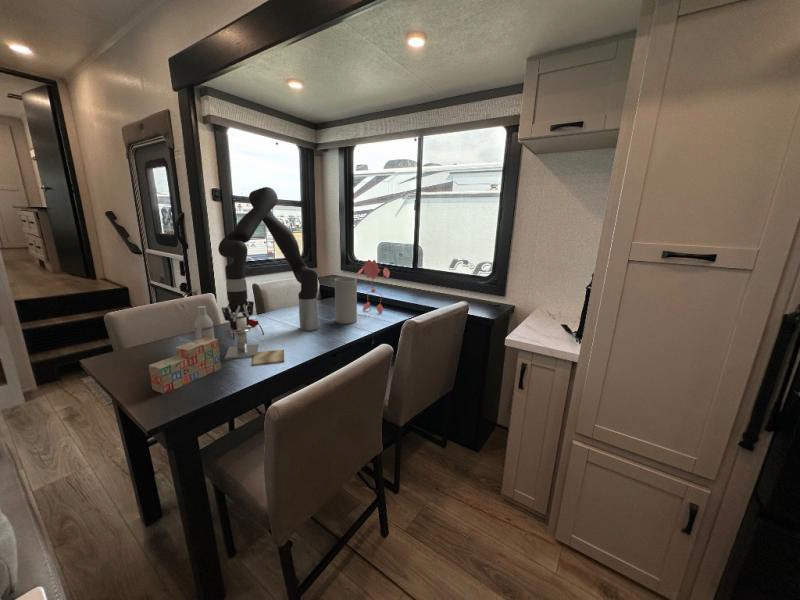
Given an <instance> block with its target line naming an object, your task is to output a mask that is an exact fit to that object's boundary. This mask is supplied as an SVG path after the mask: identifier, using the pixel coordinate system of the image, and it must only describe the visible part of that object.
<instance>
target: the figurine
mask: <svg viewBox="0 0 800 600" xmlns="http://www.w3.org/2000/svg"><path fill="white" fill-rule="evenodd" d="M362 272H363V274H364V275H366V278H367V279H371V280H370V284H371V290H370V291H368V292H367V293H366V295H367V300H369V293H372V294H374V293H376V294H378V295H379V296H380V299H382V296H383V295H382V294H381V293H379V292H377V291H376V289H375V288H374V286H373V280H375V278H379V279H383V280H384V279H385V277H386V278H387V279H389V278H390V275H391V272H390V269H388V268H386V267H384V269H383V277H380V276H379V273H380V272H381V269H380V268H379V264H378V263H377V261H376V260H375V259H373V260H370V259H368V260H365V261H364V265H363V266H362V268H361V269H359V270H358V272H357V274H356V275H355V277H358V276H359V275H360V274H362ZM379 301H380V302H379V304H377V307H376V310H377V312H378V314H379V315H381V313H383V310H384V307H383V305H382V304H381V302H382V300H379ZM370 305H371V302H369V301H367V302H366V303H365V304H364V305H363V308H362V311H363V312H365V311H367V309H368V308H369V311H371V310H372V309H371V306H370ZM359 316H361V314H360V313H359ZM364 317H366V318H367V317H368V316H366V315H364Z"/></svg>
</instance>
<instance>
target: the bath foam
mask: <svg viewBox="0 0 800 600" xmlns="http://www.w3.org/2000/svg"><path fill="white" fill-rule="evenodd" d="M197 314H198V315H197V317H196V319H195V320H194V325H193V326H194V334H195V335H194V336H195V340H199V339H203V338H206V337H209V338H214V339H216V338H215V329H214V323H213V320H212V319H211V318H210V316H209V315H208V314H207V308H206V306H205V305H200V306H197Z"/></svg>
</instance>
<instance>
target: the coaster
mask: <svg viewBox="0 0 800 600" xmlns="http://www.w3.org/2000/svg"><path fill="white" fill-rule="evenodd" d="M279 363H285V349H284V348H283V349H277V350H276V349H275V350H266V351H265V350H264V351H258V352H257V355H254V357H252V364H251V365H252V366H262V365H270V364H279Z"/></svg>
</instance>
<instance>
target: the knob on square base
mask: <svg viewBox="0 0 800 600" xmlns="http://www.w3.org/2000/svg"><path fill="white" fill-rule="evenodd" d="M251 328H252V327H251V326H247V329H246V330H244V331H234V330H232V329H231V327H230V329H229V331H230V333H232V334H233V333H234V334H235V340H236V346H229V347H228V349H227V352H226V354H225V356H224V360H225V361H227V360H235V359H236V360H238V359H245V358H254V355H257V352H259V344H258V343H257V344H248V339H247V333H248V332H250V331H251Z"/></svg>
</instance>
